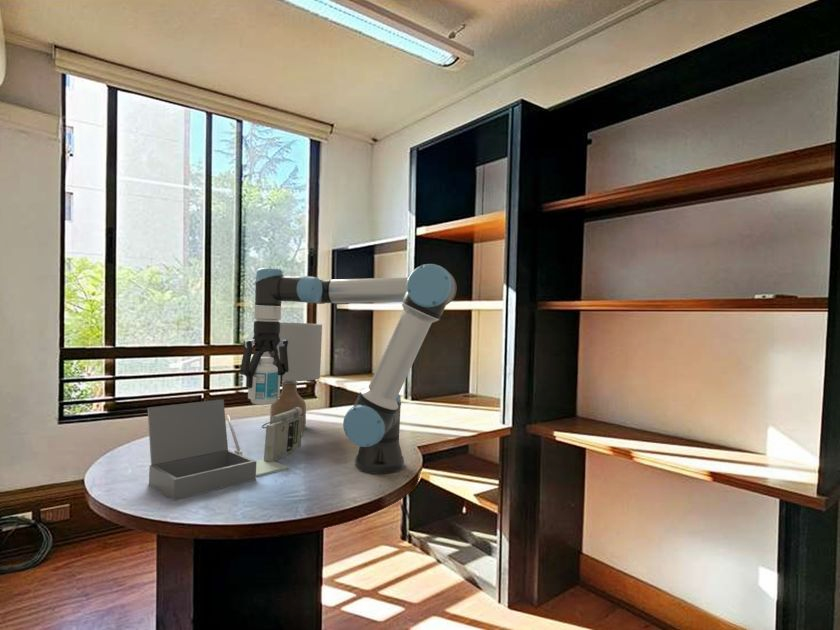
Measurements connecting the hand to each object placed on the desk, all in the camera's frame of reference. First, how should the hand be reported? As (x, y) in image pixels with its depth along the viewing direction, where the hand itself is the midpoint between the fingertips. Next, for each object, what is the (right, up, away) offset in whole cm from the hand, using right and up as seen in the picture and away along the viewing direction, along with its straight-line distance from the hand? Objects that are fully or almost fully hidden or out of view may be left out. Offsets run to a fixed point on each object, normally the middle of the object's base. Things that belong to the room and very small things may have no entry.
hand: (264, 397), depth 142 cm
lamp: (-7, -21, +50) cm, 55 cm away
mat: (-1, -21, 0) cm, 21 cm away
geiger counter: (+2, -21, +17) cm, 27 cm away
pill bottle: (0, -2, 0) cm, 2 cm away
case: (-13, -20, -11) cm, 27 cm away
